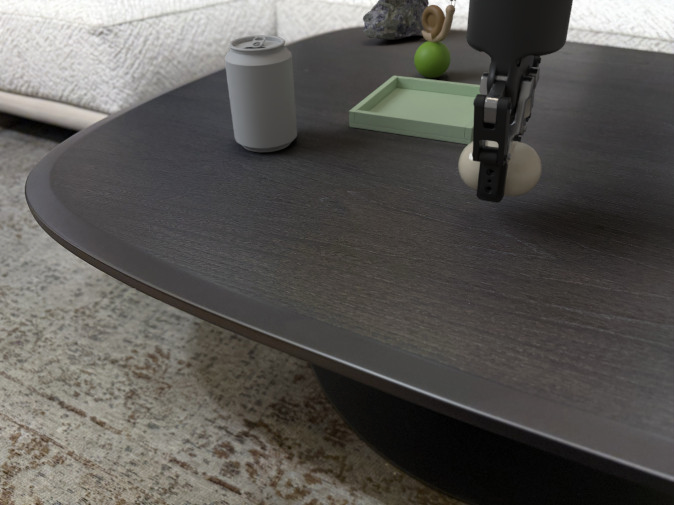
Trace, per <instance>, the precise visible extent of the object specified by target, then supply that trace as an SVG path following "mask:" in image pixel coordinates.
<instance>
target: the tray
mask: <svg viewBox="0 0 674 505" xmlns="http://www.w3.org/2000/svg"><path fill="white" fill-rule="evenodd" d="M479 89H480V84H475V83H474V84H473V83H465V82H457V81H446V80H437V79H431V78H421V77H411V76H403V75H395V74H394V75H392V76H391V77H390V78H388V79H387V80H386V81H385V82H383V83H382V84H381V85H379V87H377V88H376V89H374V90H373V91H372V92H371V93H370V94H369V95H367V96H366V97H364V99H362V100H361V101H359V103H357V104H356V105H355V106H353V107H352V108H351V109H350V110H348V123H349V125H348V127H349V128H356V129H361V130H369V131H375V132H382V133H389V134H396V135H401V136H408V137H409V136H410V137H416V138H421V139H429V140H435V141H442V142H449V143H455V144H461V145H468V144H469V143H471V142H473V128H474V105H473V102H474V99H475V98H476V95H477V94H481V93H480V91H479Z"/></svg>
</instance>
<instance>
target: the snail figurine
mask: <svg viewBox="0 0 674 505" xmlns="http://www.w3.org/2000/svg"><path fill="white" fill-rule="evenodd" d="M449 1H450V2H451V3H450V4H447V6H446V7H445V13H444V11H443V10H442V8H441V7H440V6H439V5H436V4H429V5H428V7H426V9H425V10H424V12H423V15H422V24H423V27H424V29H425V30H426V31H424V30H422V35H423V36H422V37H423V39H424V40H426V41H424V42H423V43H421V44H420V45H419V46H418V47H417V49H416V51H415V52H414V58H413V63H414V67H415V69H416V72H418V74H420V75H421V76H423V77H424V78H426V79H436V78H439V77H441V76H443V75H444V74H445V73H446V72H447V70H448V69H449V68H450V65H451V61H452V60H451V58H452V57H451V51H450V50H449V48H448V47H447V45H446V44H445V43H443V41H445V40H446V39H447V38H448V36H449V34H450V32H451V28H452V25H453V21H454V15H455V12H456V7H455V6H456V3H453V2H457V0H449ZM453 4H454V5H453Z"/></svg>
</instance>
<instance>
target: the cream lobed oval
mask: <svg viewBox="0 0 674 505" xmlns="http://www.w3.org/2000/svg"><path fill="white" fill-rule="evenodd" d="M488 146H491V147H498V143H497V142H495V141H488ZM472 152H473V142H471V143H469V144H466V146H465V147H464V148H463V149H462V151H461V153H460V155H459V157H458V162H457V170H458V174H459V176H460V179H461V181H462V182H463V183H464V184H465V185H466V186H467V187H468V188H470V189H471V190H473V191H476V192H477V186H478V176H479V167H480V162H477V161H473V156H472ZM511 154H512V155H511V160H509V162H508V169H507V176H506V184H505V192H504V197H509V198H510V197H511V198H515V197H520V196H523V195H526V194H528V193H529V192H531V191H532V190H533V189H534V188H535V187H536V186H537V184H538V183H539V181H540V180H541V177H542V172H543V164H542V160H541V157H540V155H539V153H538V152H537V150H535V148H533V147H532V146H531V145H529V144H527V143H525V142H522V141H521V142H518V141H513V143H512V149H511Z"/></svg>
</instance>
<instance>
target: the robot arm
mask: <svg viewBox="0 0 674 505" xmlns="http://www.w3.org/2000/svg"><path fill="white" fill-rule="evenodd" d="M573 2H574V0H469V2H468V14H467V16H468V17H467V26H466V42H467V44H468V46H469V47H470V48H472V49H473V50H474V51H477V52H479V53H485V54H486V55H487V56H489V57H490V63H489V66H488V72H487V71H486V72H485V71H483V72H482V74H481V78H480V82H479V83H480V84H479V85H480V89H479V91H480V93H481V94H477V95H476V98H475V99H474V102H473V105H474V128H473V152H472V156H473V161H477V162H480V167H479V176H478V186H477V191H476V197H477V199H479V200H481V201H485V202H491V203H496V204H498V203H500V202H502V200H503V198H504V197H505V196H504V192H505V184H506V176H507V169H508V162H509V160H511V155H512V154H511V149H512V143H513V141H518V142H522V137H523V136H524V135H525V132H526V131H527V123H528V122H529V120H530V119H531V117H532V110H533V107H534V103H535V102H534V101H535V92H536V89H537V85H538V83H539V80H540V74H541V73H540V72H541V69H540V64H541V62H542V56H543V57H544V56H548V55H551V54H554V53H556V52H558V51H560V50H561V49H563V48H564V46H565V45H566V43H567V38H568V34H569V33H568V32H569V26H570V21H571V15H572V8H573ZM488 141H495V142H497V143H498V147H491V146H488Z"/></svg>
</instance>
